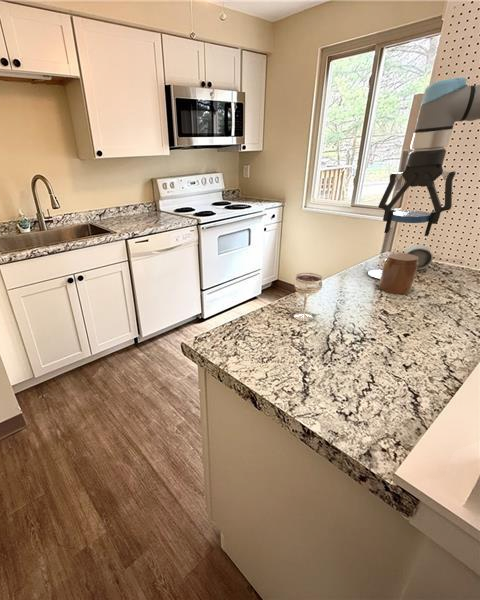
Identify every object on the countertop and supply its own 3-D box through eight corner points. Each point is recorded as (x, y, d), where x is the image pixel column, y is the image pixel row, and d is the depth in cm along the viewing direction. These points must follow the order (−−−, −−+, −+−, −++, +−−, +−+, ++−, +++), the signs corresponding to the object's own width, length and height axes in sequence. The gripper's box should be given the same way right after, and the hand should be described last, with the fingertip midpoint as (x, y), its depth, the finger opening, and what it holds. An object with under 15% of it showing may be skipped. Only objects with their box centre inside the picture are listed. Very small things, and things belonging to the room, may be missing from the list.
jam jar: (417, 291, 94) (427, 258, 89) (396, 295, 92) (405, 262, 88) (392, 282, 101) (400, 251, 97) (372, 286, 100) (379, 255, 95)
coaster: (411, 277, 102) (412, 276, 102) (387, 283, 101) (387, 282, 100) (383, 268, 111) (384, 267, 111) (360, 273, 110) (360, 272, 109)
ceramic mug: (427, 263, 112) (433, 242, 108) (429, 271, 106) (435, 249, 102) (390, 261, 117) (394, 241, 114) (390, 268, 112) (395, 247, 108)
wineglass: (296, 323, 84) (302, 283, 78) (285, 312, 90) (290, 273, 85) (322, 321, 83) (329, 280, 78) (309, 310, 90) (314, 271, 85)
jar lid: (410, 215, 94) (412, 209, 94) (437, 220, 86) (439, 214, 86) (383, 219, 94) (384, 213, 93) (408, 224, 86) (410, 217, 85)
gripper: (486, 144, 77) (456, 233, 87) (382, 151, 92) (366, 227, 101) (485, 146, 73) (454, 240, 82) (376, 153, 87) (360, 233, 97)
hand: (406, 233), depth 92 cm, fingers closed on jar lid, 9 cm apart
